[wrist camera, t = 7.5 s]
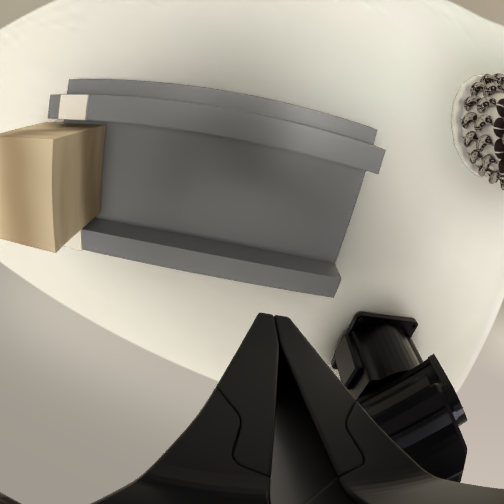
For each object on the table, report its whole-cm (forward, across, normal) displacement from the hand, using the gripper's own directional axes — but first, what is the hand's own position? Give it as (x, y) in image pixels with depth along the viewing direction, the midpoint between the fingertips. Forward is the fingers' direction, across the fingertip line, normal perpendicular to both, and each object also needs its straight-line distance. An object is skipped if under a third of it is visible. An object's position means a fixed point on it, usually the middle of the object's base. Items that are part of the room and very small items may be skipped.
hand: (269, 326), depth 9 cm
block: (+12, +13, 0) cm, 18 cm away
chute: (+13, +4, 0) cm, 14 cm away
